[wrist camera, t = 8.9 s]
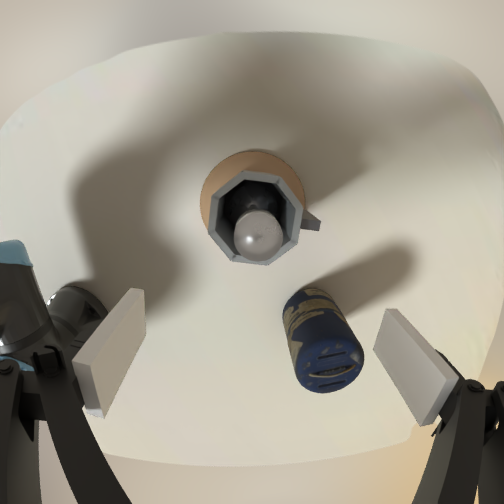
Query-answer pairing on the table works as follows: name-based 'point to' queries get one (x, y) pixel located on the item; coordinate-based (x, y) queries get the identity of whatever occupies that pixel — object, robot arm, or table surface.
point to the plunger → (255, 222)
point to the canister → (321, 342)
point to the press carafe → (262, 173)
